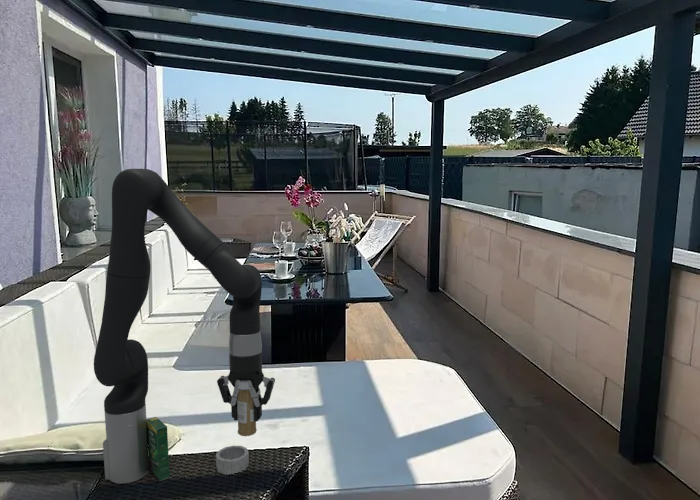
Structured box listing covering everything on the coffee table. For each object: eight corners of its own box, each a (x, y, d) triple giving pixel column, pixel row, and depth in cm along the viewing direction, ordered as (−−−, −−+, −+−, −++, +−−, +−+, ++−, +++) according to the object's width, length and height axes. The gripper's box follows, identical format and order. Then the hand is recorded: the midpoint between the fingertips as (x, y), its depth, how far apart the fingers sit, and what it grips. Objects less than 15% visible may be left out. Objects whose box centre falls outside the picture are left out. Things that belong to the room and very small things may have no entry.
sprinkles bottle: (259, 433, 123) (258, 379, 121) (241, 438, 120) (240, 383, 119) (252, 426, 126) (251, 373, 125) (234, 431, 124) (233, 377, 122)
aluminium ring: (212, 474, 127) (211, 460, 126) (223, 457, 134) (222, 445, 134) (243, 475, 126) (242, 461, 126) (252, 459, 134) (251, 446, 133)
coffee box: (148, 468, 130) (145, 418, 128) (159, 464, 132) (157, 415, 130) (158, 482, 123) (155, 429, 122) (170, 477, 125) (167, 426, 124)
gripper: (210, 354, 118) (212, 425, 120) (271, 356, 117) (272, 428, 118) (221, 344, 125) (223, 411, 127) (278, 346, 124) (279, 414, 126)
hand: (247, 419), depth 123 cm, fingers closed on sprinkles bottle, 4 cm apart
